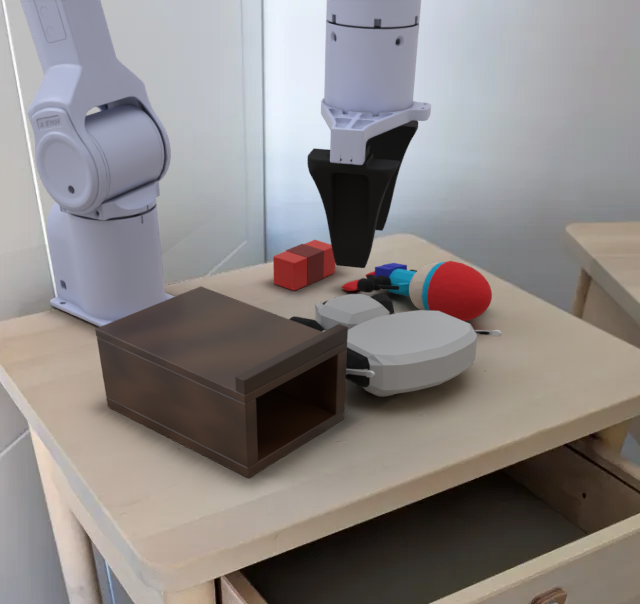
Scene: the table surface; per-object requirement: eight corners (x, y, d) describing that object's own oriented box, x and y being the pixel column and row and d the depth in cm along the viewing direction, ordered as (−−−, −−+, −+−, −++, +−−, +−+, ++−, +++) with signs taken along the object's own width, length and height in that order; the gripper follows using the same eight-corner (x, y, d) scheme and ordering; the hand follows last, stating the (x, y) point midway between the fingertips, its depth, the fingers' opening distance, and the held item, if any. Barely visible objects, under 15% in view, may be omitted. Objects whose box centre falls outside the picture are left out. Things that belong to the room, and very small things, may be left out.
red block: (272, 284, 80) (272, 255, 78) (320, 263, 84) (321, 235, 82) (294, 291, 78) (294, 262, 77) (342, 270, 82) (343, 242, 81)
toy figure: (335, 308, 79) (456, 337, 69) (334, 252, 77) (459, 274, 67) (394, 295, 83) (516, 321, 73) (394, 242, 81) (521, 260, 71)
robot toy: (262, 360, 69) (376, 428, 59) (258, 305, 67) (377, 367, 57) (380, 326, 75) (502, 382, 65) (381, 274, 72) (509, 324, 62)
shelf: (107, 406, 62) (92, 314, 57) (206, 359, 68) (199, 272, 63) (248, 478, 55) (244, 380, 50) (344, 419, 61) (348, 326, 56)
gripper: (423, 45, 46) (402, 290, 55) (449, 9, 57) (428, 218, 66) (296, 37, 47) (295, 279, 56) (345, 3, 58) (338, 210, 67)
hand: (360, 245), depth 61 cm, fingers open, 7 cm apart
